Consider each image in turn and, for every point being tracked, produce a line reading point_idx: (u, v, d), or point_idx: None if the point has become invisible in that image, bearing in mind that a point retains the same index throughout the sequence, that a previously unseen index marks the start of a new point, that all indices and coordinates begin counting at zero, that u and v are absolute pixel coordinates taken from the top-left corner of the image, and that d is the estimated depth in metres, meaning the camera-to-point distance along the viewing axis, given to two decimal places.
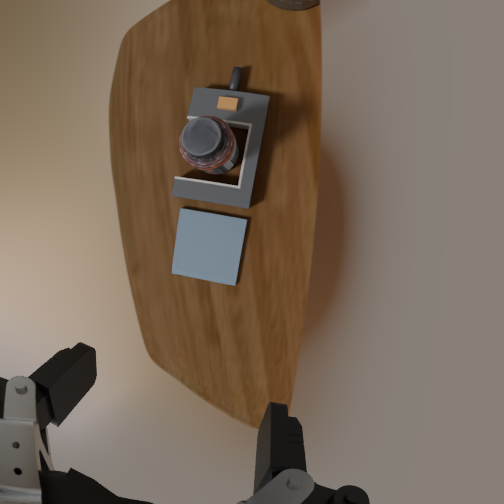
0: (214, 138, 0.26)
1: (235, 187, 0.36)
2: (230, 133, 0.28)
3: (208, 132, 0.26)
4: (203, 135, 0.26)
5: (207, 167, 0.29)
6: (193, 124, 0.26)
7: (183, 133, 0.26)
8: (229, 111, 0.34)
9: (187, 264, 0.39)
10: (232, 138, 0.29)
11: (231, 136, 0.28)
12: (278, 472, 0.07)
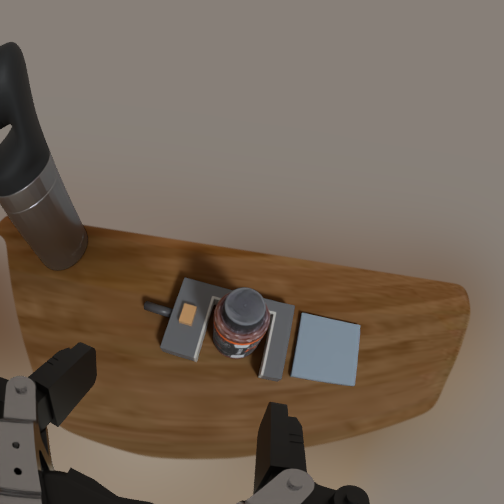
0: (249, 293, 0.28)
1: (275, 316, 0.37)
2: None
3: (242, 297, 0.28)
4: (245, 302, 0.28)
5: (269, 315, 0.30)
6: (232, 311, 0.27)
7: (240, 322, 0.27)
8: (196, 315, 0.35)
9: (345, 369, 0.35)
10: None
11: None
12: (278, 472, 0.07)
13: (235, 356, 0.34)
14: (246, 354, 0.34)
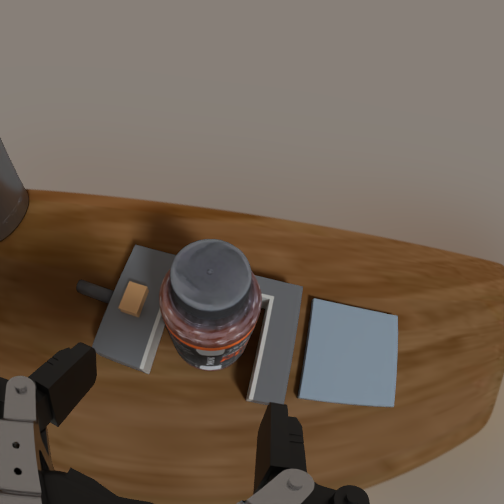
0: (220, 248, 0.15)
1: (272, 302, 0.23)
2: None
3: (206, 257, 0.14)
4: (210, 266, 0.14)
5: (261, 295, 0.17)
6: (183, 282, 0.13)
7: (199, 303, 0.13)
8: (146, 300, 0.22)
9: (381, 383, 0.22)
10: None
11: None
12: (278, 472, 0.07)
13: (207, 368, 0.20)
14: (225, 365, 0.20)
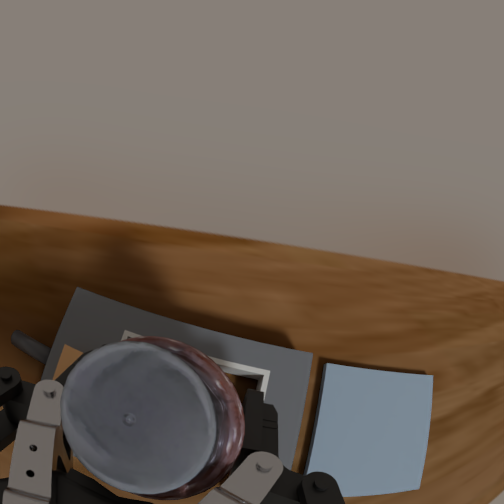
0: (150, 366, 0.06)
1: (267, 380, 0.15)
2: (140, 338, 0.09)
3: (122, 385, 0.06)
4: (130, 406, 0.06)
5: (243, 422, 0.08)
6: (81, 434, 0.05)
7: (113, 480, 0.04)
8: None
9: (407, 465, 0.13)
10: (156, 337, 0.09)
11: (149, 337, 0.09)
12: (249, 455, 0.08)
13: None
14: None
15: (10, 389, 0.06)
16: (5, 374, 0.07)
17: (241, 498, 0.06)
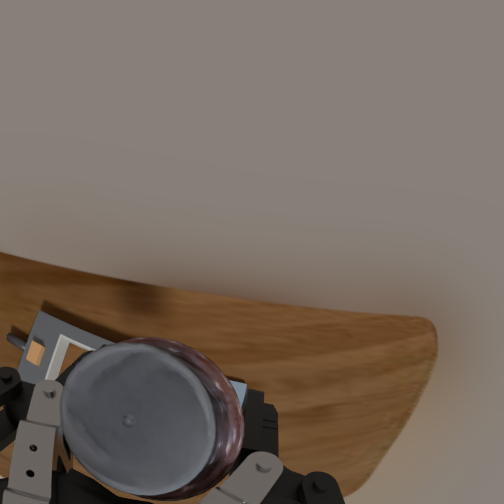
0: (149, 368, 0.06)
1: None
2: (139, 339, 0.09)
3: (121, 387, 0.06)
4: (129, 408, 0.05)
5: (242, 423, 0.08)
6: (81, 436, 0.05)
7: (112, 481, 0.04)
8: (43, 354, 0.24)
9: None
10: (155, 338, 0.09)
11: (149, 338, 0.09)
12: (249, 455, 0.08)
13: None
14: None
15: (10, 389, 0.06)
16: (5, 375, 0.07)
17: (241, 498, 0.06)
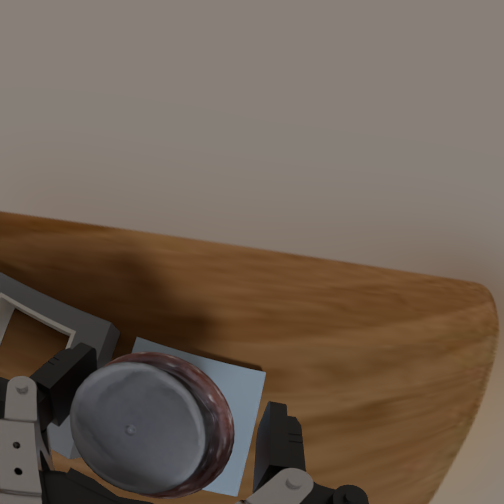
0: (149, 385, 0.07)
1: (72, 338, 0.16)
2: (140, 354, 0.09)
3: (124, 401, 0.06)
4: (132, 419, 0.06)
5: (233, 431, 0.09)
6: (89, 442, 0.06)
7: (115, 481, 0.05)
8: None
9: None
10: (155, 353, 0.10)
11: (149, 353, 0.10)
12: (277, 471, 0.07)
13: None
14: None
15: None
16: None
17: None
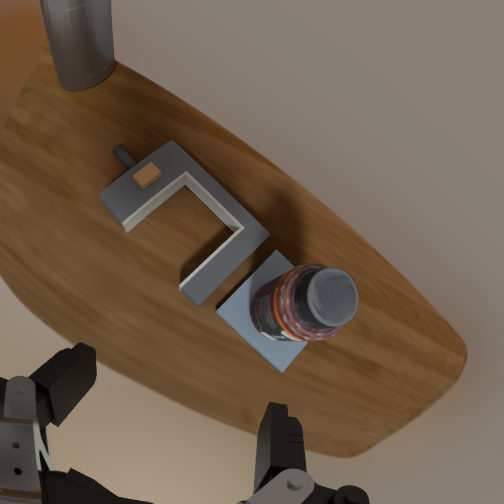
0: (347, 282, 0.19)
1: (240, 230, 0.29)
2: (327, 267, 0.22)
3: (336, 284, 0.19)
4: (336, 292, 0.18)
5: None
6: (315, 294, 0.18)
7: (318, 315, 0.18)
8: (155, 180, 0.28)
9: (284, 346, 0.28)
10: None
11: None
12: (278, 472, 0.07)
13: (267, 335, 0.26)
14: (280, 340, 0.26)
15: None
16: None
17: None
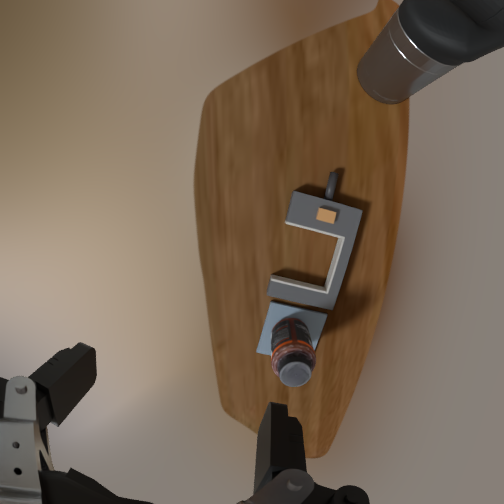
0: (305, 377, 0.33)
1: (324, 292, 0.41)
2: (314, 361, 0.35)
3: (302, 373, 0.33)
4: (298, 375, 0.33)
5: None
6: (291, 367, 0.33)
7: (282, 372, 0.33)
8: (326, 222, 0.39)
9: None
10: (315, 363, 0.36)
11: (315, 362, 0.35)
12: (278, 472, 0.07)
13: None
14: None
15: None
16: None
17: None
